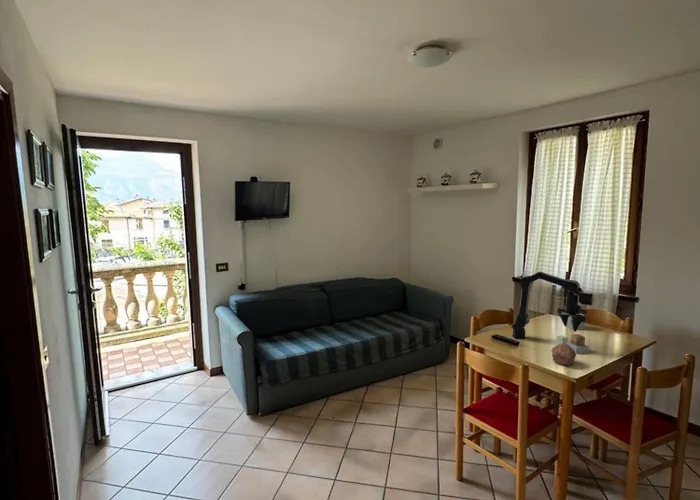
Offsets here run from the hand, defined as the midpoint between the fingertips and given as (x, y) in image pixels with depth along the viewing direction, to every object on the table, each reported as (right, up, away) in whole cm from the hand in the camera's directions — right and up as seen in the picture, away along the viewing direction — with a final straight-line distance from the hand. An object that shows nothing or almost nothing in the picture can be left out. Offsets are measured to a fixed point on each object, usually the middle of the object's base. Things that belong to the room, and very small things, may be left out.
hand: (570, 328), depth 221 cm
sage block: (+1, -11, +10) cm, 14 cm away
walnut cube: (+2, -8, -4) cm, 9 cm away
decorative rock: (-15, -14, -20) cm, 29 cm away
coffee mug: (+25, -7, +39) cm, 47 cm away
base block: (+2, -12, -3) cm, 13 cm away
